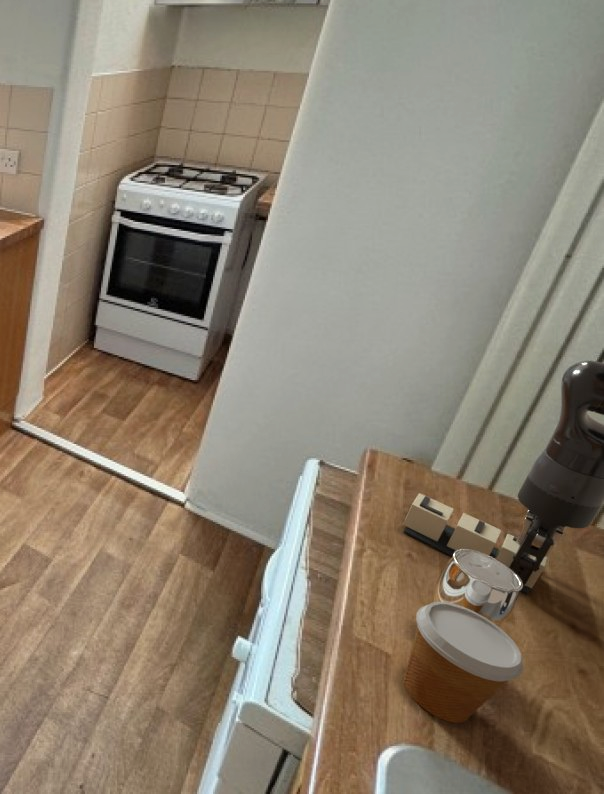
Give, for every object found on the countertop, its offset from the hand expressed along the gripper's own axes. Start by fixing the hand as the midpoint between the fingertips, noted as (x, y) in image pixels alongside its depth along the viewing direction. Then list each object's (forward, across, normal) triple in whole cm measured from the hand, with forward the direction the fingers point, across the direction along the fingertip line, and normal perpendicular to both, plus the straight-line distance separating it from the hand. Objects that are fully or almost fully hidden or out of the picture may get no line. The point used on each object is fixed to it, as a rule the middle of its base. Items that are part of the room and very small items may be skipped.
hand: (519, 566), depth 95 cm
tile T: (+1, 0, 0) cm, 1 cm away
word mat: (+1, 0, +6) cm, 6 cm away
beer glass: (+2, -26, +4) cm, 26 cm away
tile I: (+1, 0, +6) cm, 6 cm away
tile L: (+1, 0, +11) cm, 11 cm away
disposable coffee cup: (+2, -36, +3) cm, 36 cm away
